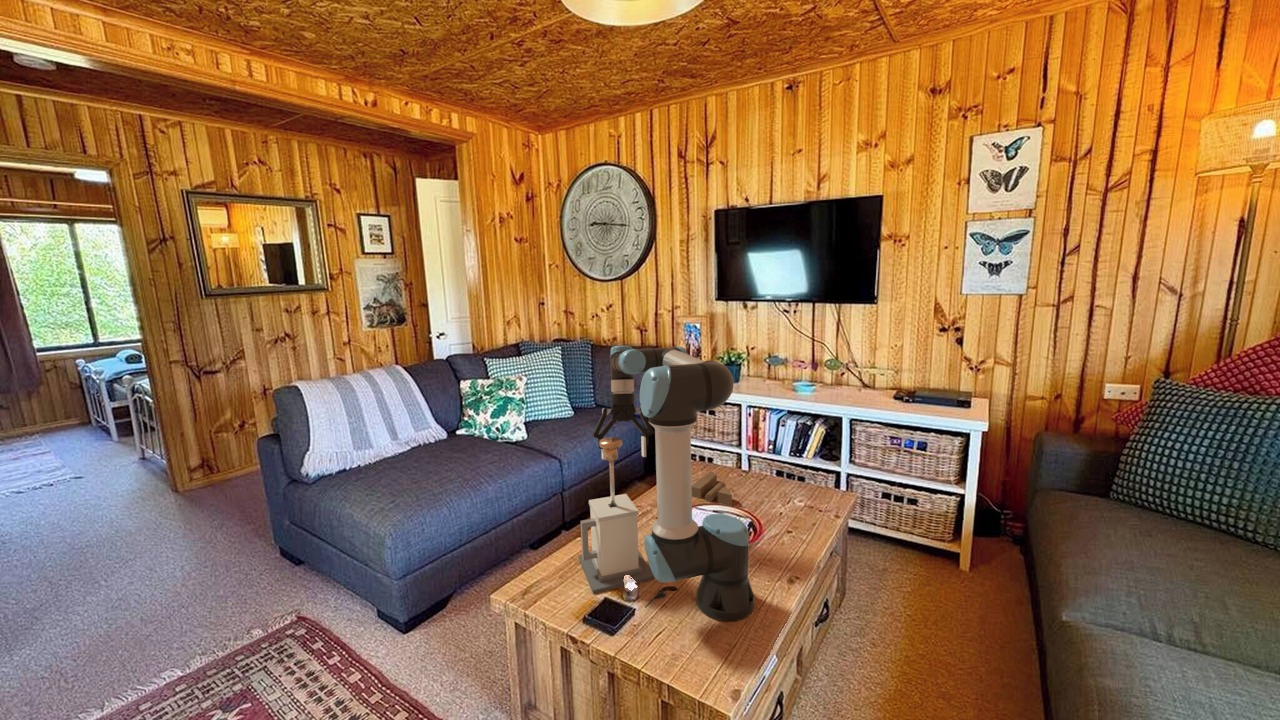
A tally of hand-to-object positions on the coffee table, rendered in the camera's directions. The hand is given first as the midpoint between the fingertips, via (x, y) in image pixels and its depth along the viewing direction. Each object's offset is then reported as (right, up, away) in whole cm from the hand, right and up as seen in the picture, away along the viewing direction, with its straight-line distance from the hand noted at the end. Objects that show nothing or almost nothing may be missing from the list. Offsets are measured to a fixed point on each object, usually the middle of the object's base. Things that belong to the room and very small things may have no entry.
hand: (624, 457), depth 167 cm
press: (-4, -29, -17) cm, 34 cm away
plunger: (-3, -13, -19) cm, 23 cm away
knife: (+10, -33, -30) cm, 46 cm away
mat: (-2, -30, -16) cm, 34 cm away
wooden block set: (+36, -21, +32) cm, 53 cm away
